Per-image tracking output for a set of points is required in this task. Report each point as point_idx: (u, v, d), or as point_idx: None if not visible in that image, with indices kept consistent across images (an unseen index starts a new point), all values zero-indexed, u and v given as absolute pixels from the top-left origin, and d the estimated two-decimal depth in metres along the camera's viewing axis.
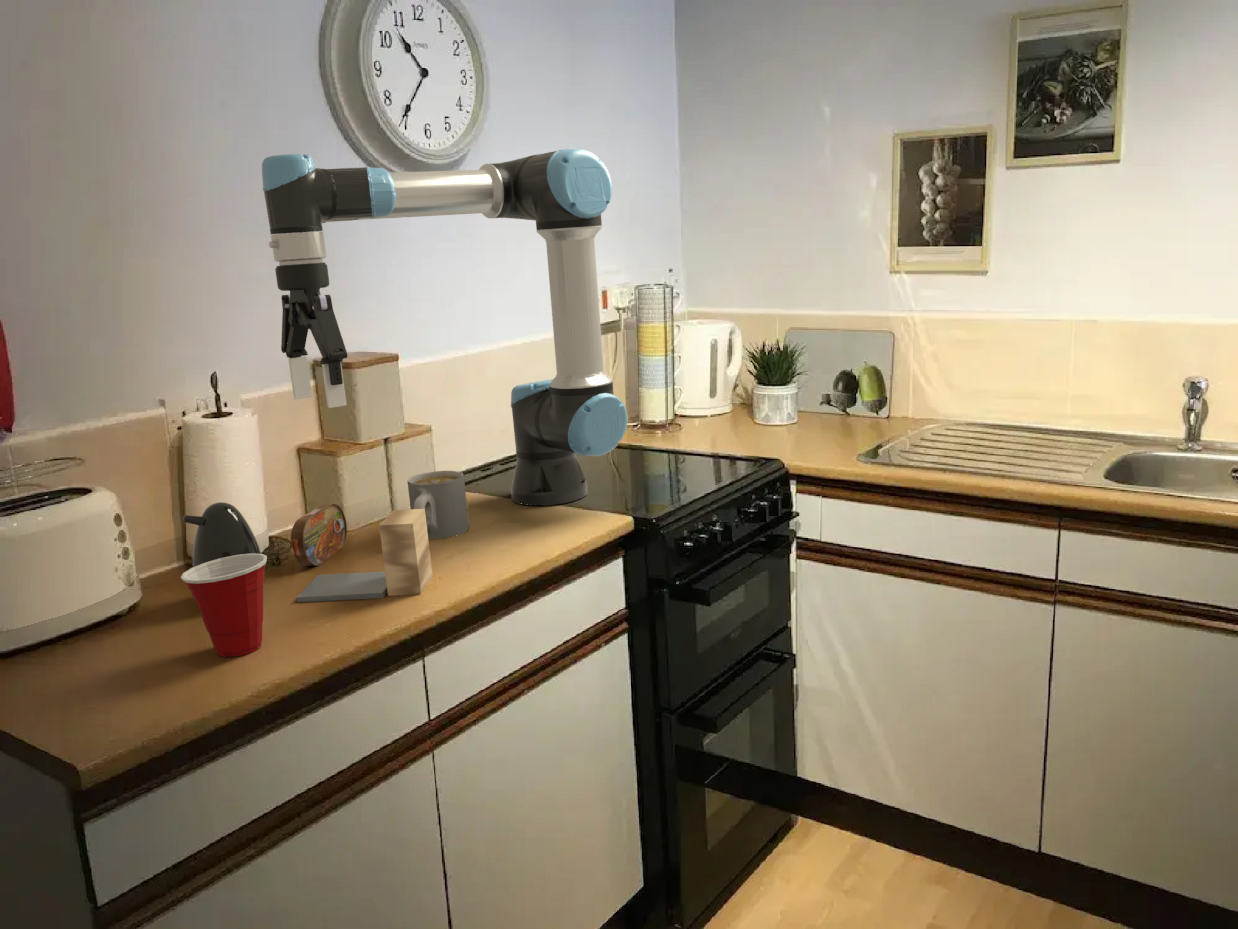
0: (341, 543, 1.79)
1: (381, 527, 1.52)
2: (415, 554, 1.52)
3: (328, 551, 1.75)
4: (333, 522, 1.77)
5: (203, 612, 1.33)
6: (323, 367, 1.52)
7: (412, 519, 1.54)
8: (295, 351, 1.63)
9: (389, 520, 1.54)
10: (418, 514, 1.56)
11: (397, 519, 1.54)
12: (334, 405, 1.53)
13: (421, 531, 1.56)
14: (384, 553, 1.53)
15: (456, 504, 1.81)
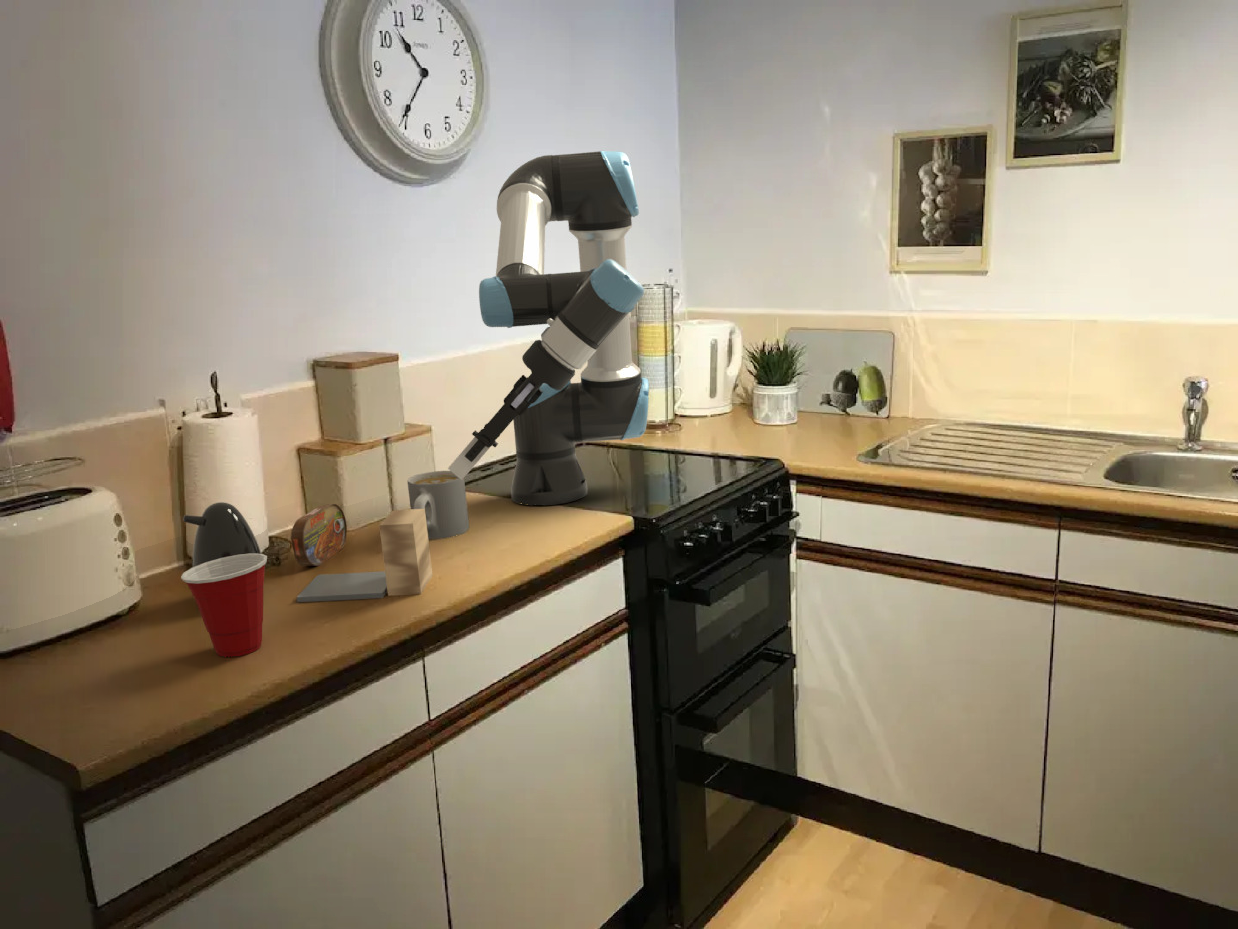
0: (341, 543, 1.79)
1: (381, 527, 1.52)
2: (415, 554, 1.52)
3: (328, 551, 1.75)
4: (333, 522, 1.77)
5: (203, 612, 1.33)
6: (473, 438, 1.52)
7: (412, 519, 1.53)
8: None
9: (389, 520, 1.54)
10: (418, 514, 1.56)
11: (397, 519, 1.54)
12: (452, 470, 1.53)
13: (421, 531, 1.56)
14: (384, 553, 1.53)
15: (456, 504, 1.81)
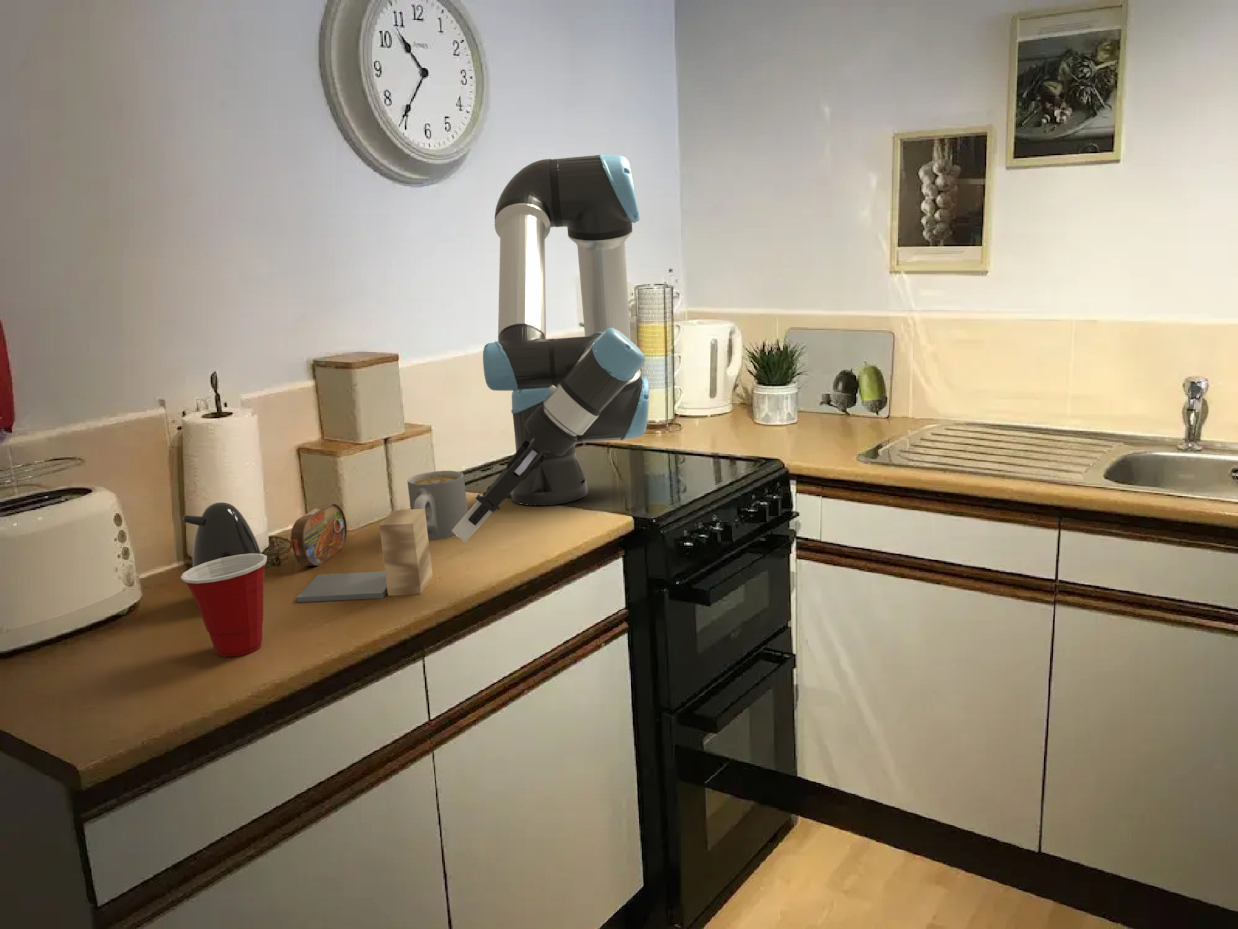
0: (341, 543, 1.79)
1: (381, 527, 1.52)
2: (415, 554, 1.52)
3: (328, 551, 1.75)
4: (333, 522, 1.77)
5: (203, 612, 1.33)
6: (477, 501, 1.54)
7: (412, 519, 1.53)
8: None
9: (389, 520, 1.54)
10: (418, 514, 1.56)
11: (397, 519, 1.54)
12: (456, 533, 1.55)
13: (421, 531, 1.56)
14: (384, 553, 1.53)
15: (456, 504, 1.81)
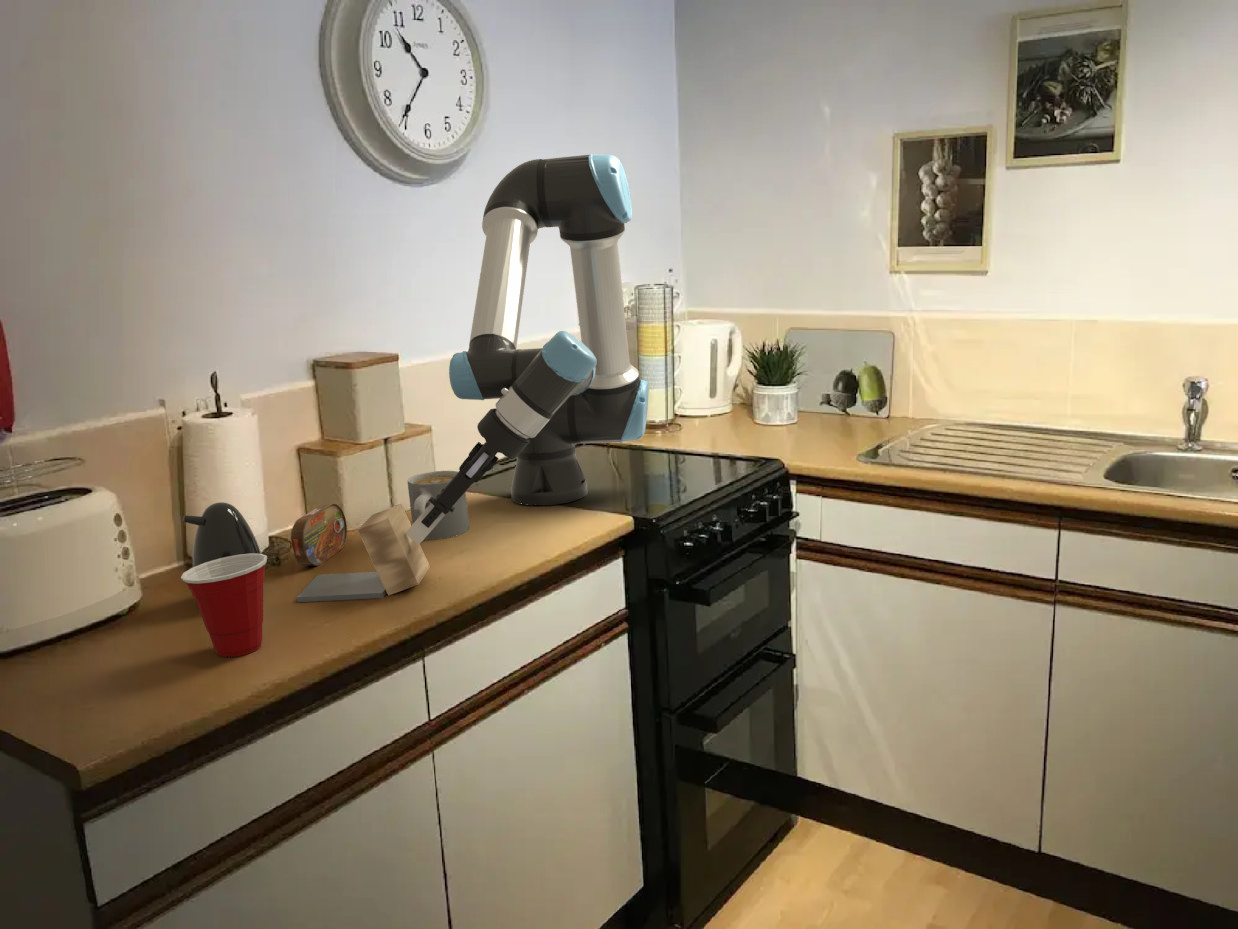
0: (341, 543, 1.79)
1: (360, 531, 1.52)
2: (400, 547, 1.52)
3: (328, 551, 1.75)
4: (333, 522, 1.77)
5: (203, 612, 1.33)
6: (430, 504, 1.54)
7: (388, 515, 1.53)
8: None
9: (367, 523, 1.54)
10: (394, 509, 1.56)
11: (375, 519, 1.54)
12: (410, 535, 1.55)
13: (402, 525, 1.56)
14: (371, 555, 1.53)
15: (456, 504, 1.81)
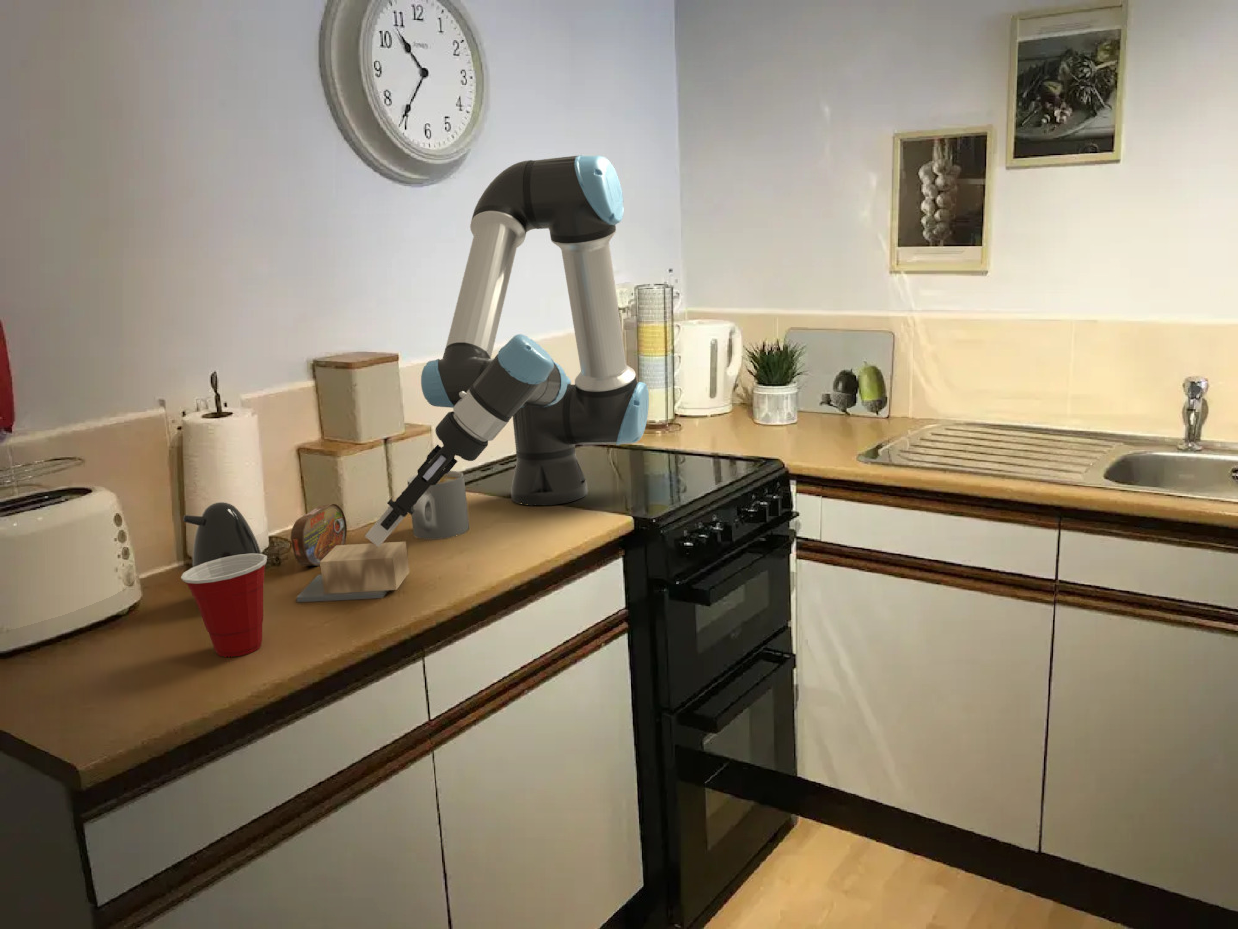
0: (341, 543, 1.79)
1: (326, 591, 1.54)
2: (351, 561, 1.53)
3: (328, 551, 1.75)
4: (333, 522, 1.77)
5: (203, 612, 1.33)
6: None
7: None
8: None
9: None
10: None
11: None
12: (369, 538, 1.56)
13: (346, 551, 1.57)
14: (352, 590, 1.54)
15: (456, 504, 1.81)
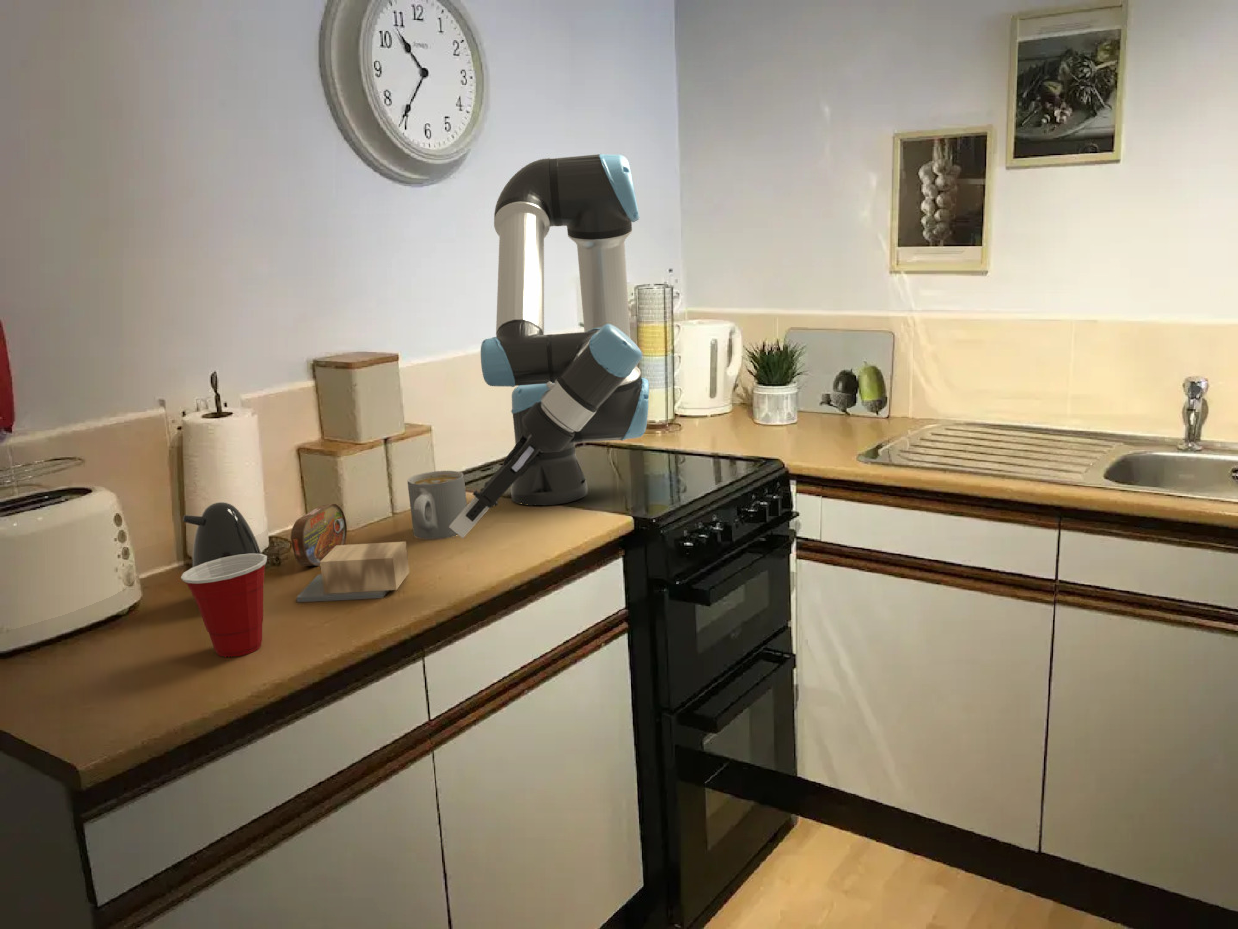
0: (341, 543, 1.79)
1: (326, 591, 1.54)
2: (351, 561, 1.53)
3: (328, 551, 1.75)
4: (333, 522, 1.77)
5: (203, 612, 1.33)
6: (474, 497, 1.54)
7: None
8: None
9: None
10: None
11: None
12: (454, 529, 1.55)
13: (346, 551, 1.57)
14: (352, 590, 1.54)
15: (456, 504, 1.81)
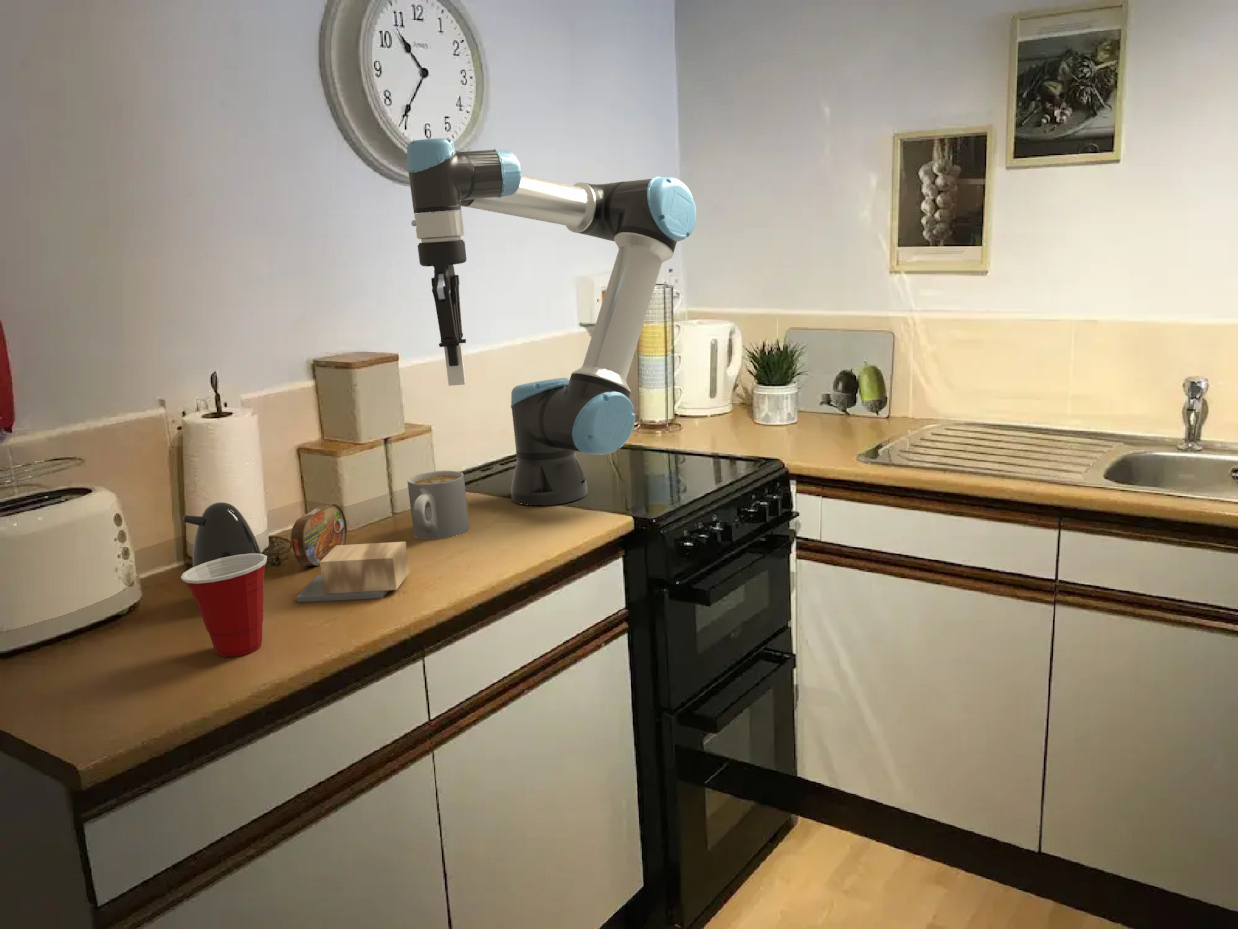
0: (341, 543, 1.79)
1: (326, 591, 1.54)
2: (351, 561, 1.53)
3: (328, 551, 1.75)
4: (333, 522, 1.77)
5: (203, 612, 1.33)
6: None
7: None
8: None
9: None
10: None
11: None
12: (453, 383, 1.71)
13: (346, 551, 1.57)
14: (352, 590, 1.54)
15: (456, 504, 1.81)
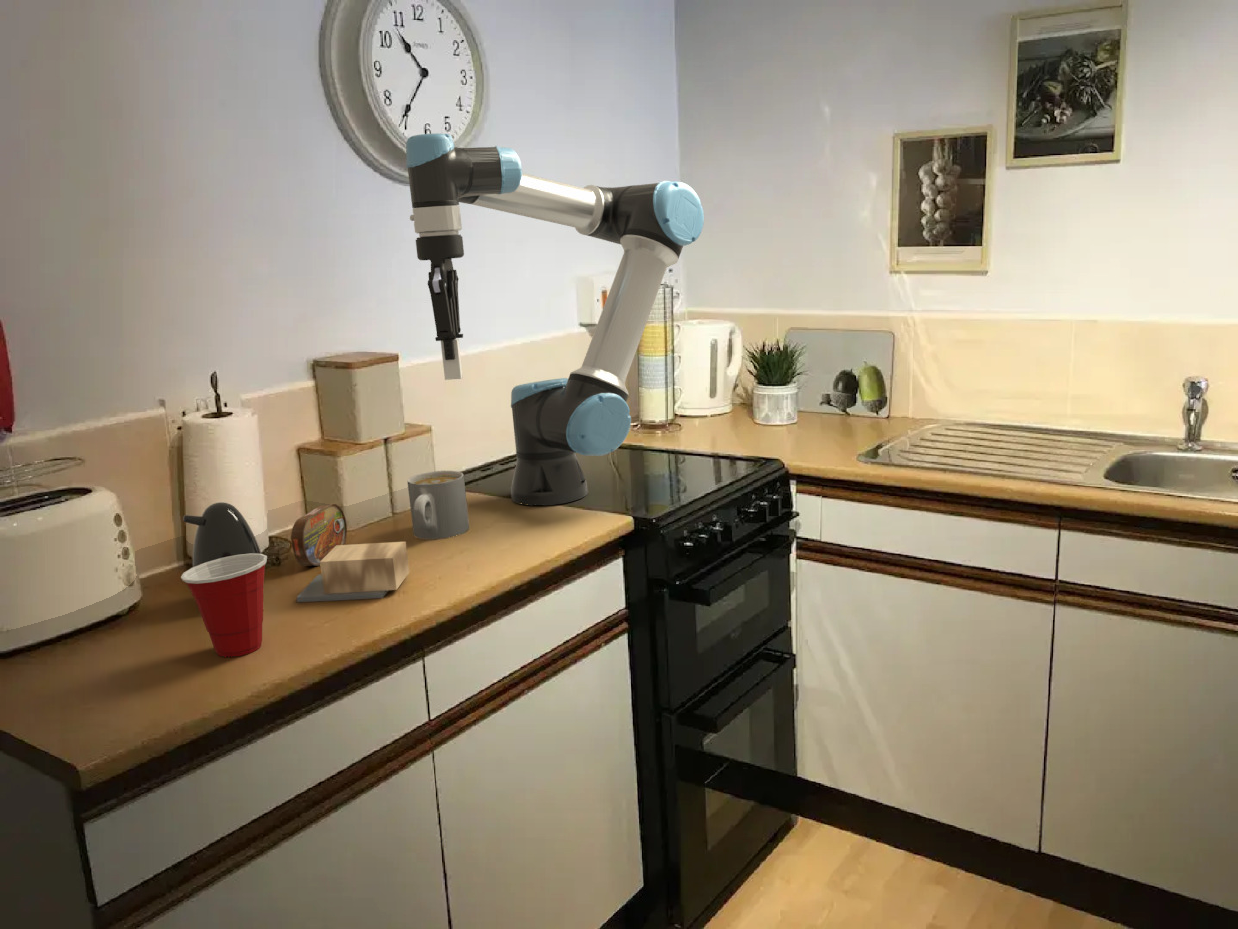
0: (341, 543, 1.79)
1: (326, 591, 1.54)
2: (351, 561, 1.53)
3: (328, 551, 1.75)
4: (333, 522, 1.77)
5: (203, 612, 1.33)
6: (441, 343, 1.70)
7: None
8: None
9: None
10: None
11: None
12: (449, 378, 1.71)
13: (346, 551, 1.57)
14: (352, 590, 1.54)
15: (456, 504, 1.81)
